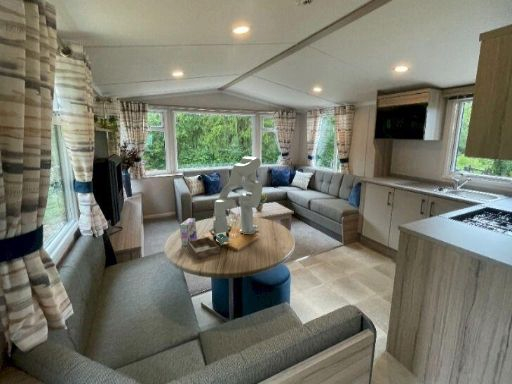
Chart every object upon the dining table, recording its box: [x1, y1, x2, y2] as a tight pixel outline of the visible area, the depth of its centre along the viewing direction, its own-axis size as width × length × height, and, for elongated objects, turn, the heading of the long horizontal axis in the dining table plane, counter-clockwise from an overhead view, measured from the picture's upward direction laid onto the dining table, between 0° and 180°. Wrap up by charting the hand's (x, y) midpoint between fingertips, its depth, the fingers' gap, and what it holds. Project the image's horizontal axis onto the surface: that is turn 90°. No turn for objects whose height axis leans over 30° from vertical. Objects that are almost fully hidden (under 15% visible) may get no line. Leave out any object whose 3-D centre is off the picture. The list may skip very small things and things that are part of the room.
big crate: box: [187, 235, 221, 260], centre depth 173 cm, size 16×20×5 cm
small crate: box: [216, 232, 230, 247], centre depth 185 cm, size 6×10×5 cm, turn 31°
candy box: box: [179, 217, 198, 247], centre depth 186 cm, size 14×6×16 cm, turn 168°
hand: (221, 239), depth 185 cm, fingers open, 9 cm apart
